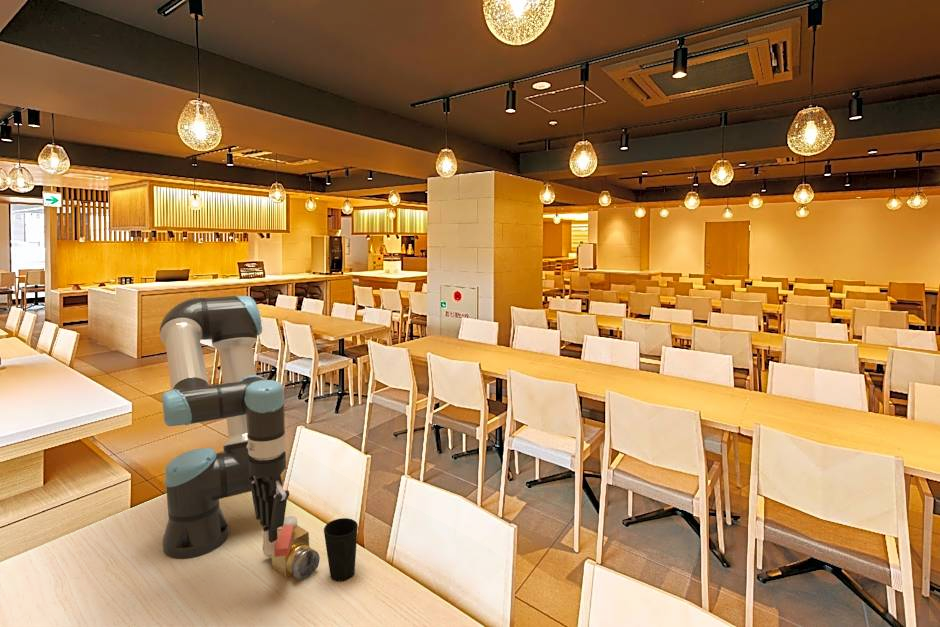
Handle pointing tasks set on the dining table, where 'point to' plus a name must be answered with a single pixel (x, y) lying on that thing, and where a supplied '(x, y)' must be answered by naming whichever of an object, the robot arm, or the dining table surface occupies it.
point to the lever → (285, 537)
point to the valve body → (297, 557)
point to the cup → (341, 548)
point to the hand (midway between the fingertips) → (270, 552)
